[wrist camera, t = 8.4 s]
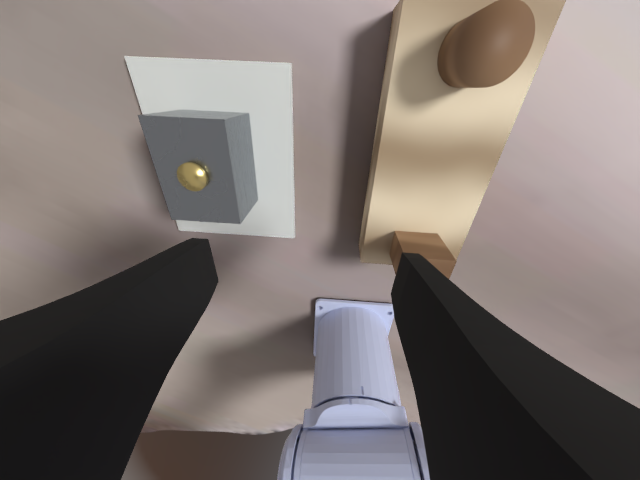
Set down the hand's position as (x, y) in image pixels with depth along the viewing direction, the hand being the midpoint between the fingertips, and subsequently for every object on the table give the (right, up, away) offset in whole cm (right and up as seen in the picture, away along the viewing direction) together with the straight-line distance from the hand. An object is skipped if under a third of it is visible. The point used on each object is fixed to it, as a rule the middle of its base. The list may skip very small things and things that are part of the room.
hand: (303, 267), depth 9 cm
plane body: (+8, +7, +8) cm, 13 cm away
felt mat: (-6, +7, +9) cm, 13 cm away
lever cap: (-6, +7, +8) cm, 12 cm away
